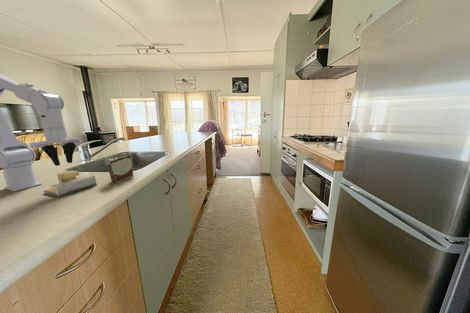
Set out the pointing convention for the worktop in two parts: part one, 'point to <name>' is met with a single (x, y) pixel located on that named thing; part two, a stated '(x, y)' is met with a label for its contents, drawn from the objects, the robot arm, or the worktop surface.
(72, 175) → the clip nut
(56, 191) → the grey and orange tray
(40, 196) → the worktop surface
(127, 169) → the food container
